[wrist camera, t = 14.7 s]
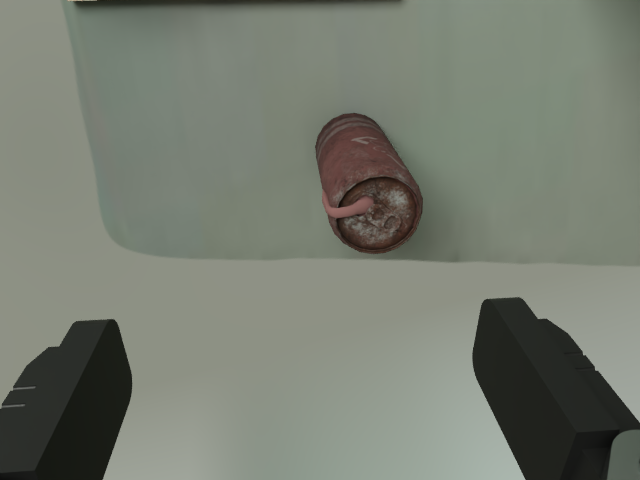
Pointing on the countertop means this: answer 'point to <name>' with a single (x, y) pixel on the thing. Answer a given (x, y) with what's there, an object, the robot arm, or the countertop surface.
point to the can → (366, 186)
